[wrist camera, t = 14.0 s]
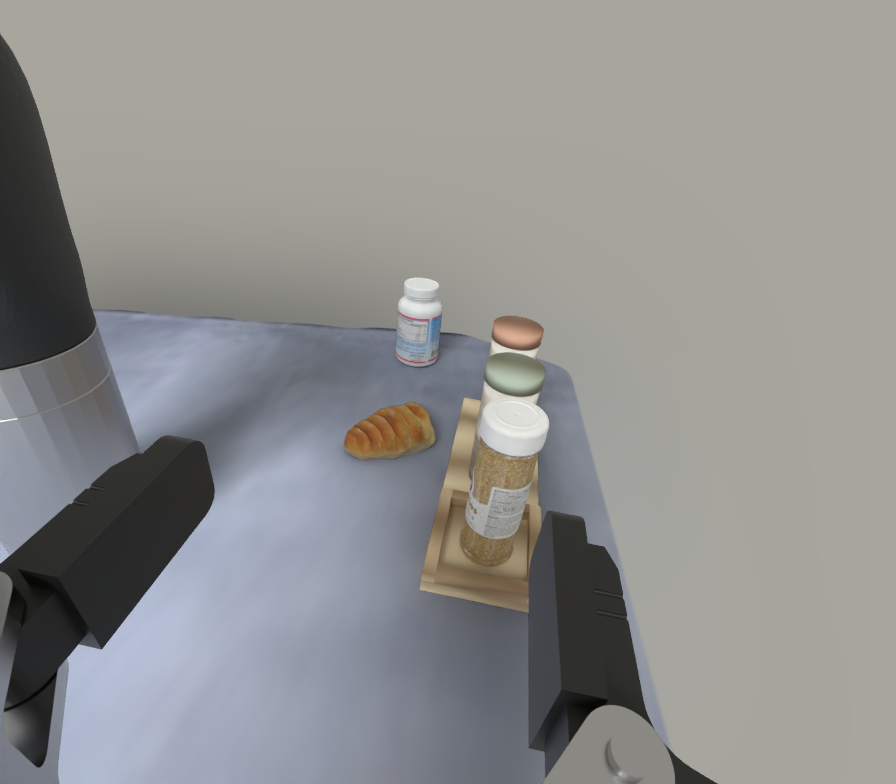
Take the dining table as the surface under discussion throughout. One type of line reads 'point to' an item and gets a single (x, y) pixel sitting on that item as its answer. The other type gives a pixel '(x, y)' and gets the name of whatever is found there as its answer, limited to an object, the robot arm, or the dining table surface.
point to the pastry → (391, 433)
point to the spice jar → (502, 478)
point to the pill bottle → (418, 323)
